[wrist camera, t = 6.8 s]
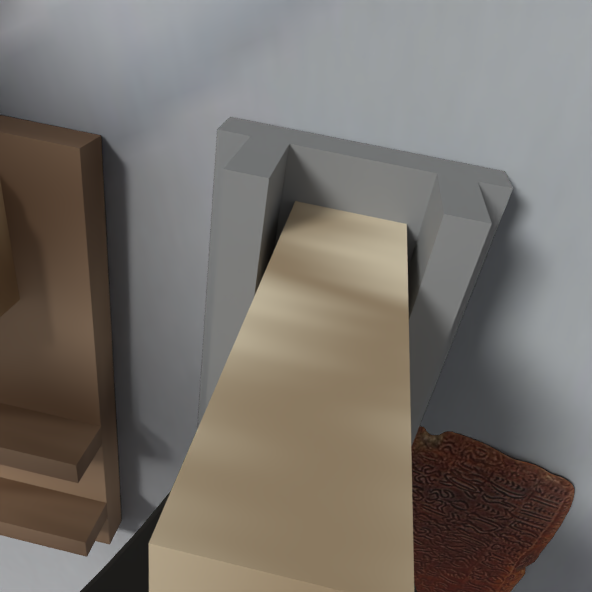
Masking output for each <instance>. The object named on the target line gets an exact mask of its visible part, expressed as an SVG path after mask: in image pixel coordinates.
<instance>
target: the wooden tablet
mask: <svg viewBox="0 0 592 592" xmlns="http://www.w3.org/2000/svg"><path fill="white" fill-rule="evenodd" d="M411 456H412V505H413V553H414V583H415V586H416V590H417V592H510V591H511V590H512V589H513V587H514V586H515V585H516V584H517V583H518V582H519V581H520V579H521V578H522V577H523V576H524V574H525V567H526V566H528V565H530V564H531V563H533V562H535V560H536V559H537V558H538V556H539V554H540V553H541V551H542V550H543V549H544V548H545V547H546V545H547V544H548V543H549V541H550V540H551V539H552V538H553V536H554V534H555V533H556V531H557V530H558V528H559V527H560V526H561V524H562V522H563V520H564V518H565V517H566V515H567V513H568V512H569V509H570V507H571V504H572V501H573V497H574V487H573V485H572V484H571V483H570V482H569V481H567V480H566V479H564V478H562V477H559V476H556V475H553V474H550V473H549V472H547V471H546V470H545V469H543V468H540V467H538V466H536V465H534V464H531V463H528V462H523V461H519V460H515V459H513V458H511V457H508V456H506V455H504V454H503V453H501V452H499V451H498V450H496V449H494V448H492V447H490V446H488V445H486V444H484V443H481V442H479V441H476V440H474V439H472V438H469V437H466V436H464V435H461V434H457V433H454V432H448V431H447V432H444V433H442V434H440V435H431V434H429V433H428V432H427V431H426V429H425V428H424V427H421V426H419V429H418V431H417V434H416V436H415V439H414V441H413V444H412V446H411Z"/></svg>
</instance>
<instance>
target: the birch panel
mask: <svg viewBox="0 0 592 592" xmlns="http://www.w3.org/2000/svg"><path fill="white" fill-rule="evenodd" d="M149 592H414V553H413V505H412V456H411V408H410V359H409V310H408V262H407V224H404V223H400V222H395V221H390V220H385V219H380V218H375V217H370V216H366V215H361V214H356V213H351V212H346V211H341V210H336V209H332V208H327V207H322V206H317V205H312V204H307V203H302V202H298V201H295V203H294V205H293V208H292V210H291V212H290V215H289V217H288V219H287V222H286V224H285V226H284V229H283V231H282V233H281V236H280V238H279V240H278V243H277V245H276V247H275V250H274V252H273V254H272V257H271V259H270V261H269V264H268V266H267V268H266V271H265V273H264V275H263V278H262V280H261V282H260V285H259V287H258V289H257V292H256V294H255V296H254V299H253V301H252V303H251V306H250V308H249V310H248V313H247V315H246V317H245V320H244V322H243V324H242V327H241V329H240V331H239V334H238V336H237V338H236V341H235V343H234V345H233V348H232V350H231V352H230V355H229V357H228V359H227V362H226V364H225V366H224V369H223V371H222V373H221V376H220V378H219V380H218V383H217V385H216V387H215V390H214V392H213V394H212V397H211V399H210V401H209V404H208V406H207V408H206V411H205V413H204V415H203V418H202V420H201V422H200V425H199V427H198V429H197V432H196V434H195V436H194V439H193V441H192V443H191V446H190V448H189V450H188V453H187V455H186V457H185V460H184V462H183V464H182V467H181V469H180V471H179V474H178V476H177V478H176V481H175V483H174V485H173V488H172V490H171V492H170V495H169V497H168V499H167V502H166V504H165V506H164V509H163V511H162V513H161V516H160V518H159V520H158V523H157V525H156V527H155V530H154V532H153V534H152V537H151V539H150V541H149Z"/></svg>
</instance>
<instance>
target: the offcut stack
mask: <svg viewBox="0 0 592 592" xmlns="http://www.w3.org/2000/svg"><path fill="white" fill-rule="evenodd" d="M19 300H20V297H19V291H18V285H17V279H16V273H15V267H14V261H13V255H12V248H11V242H10V236H9V230H8V224H7V218H6V212H5V206H4V200H3V194H2V188H1V182H0V317H1V316H2V315H3V314H5V313H6V312H7V311H8V310H9V309H10V308H11V307H12V306H13V305H15V304H16V303H17V302H18V301H19Z"/></svg>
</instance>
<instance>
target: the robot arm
mask: <svg viewBox="0 0 592 592" xmlns="http://www.w3.org/2000/svg"><path fill="white" fill-rule="evenodd" d="M170 492H171V491H170ZM169 495H170V493H169V494H168V495H167V496H166V498H165V499H164V500H163V501H162V502H161V504H160V505H159V506H158V507H157V508H156V510H155V511H154V512H153V513H152V514H151V516H150V517H149V518H148V519H147V521H146V522H145V523H144V524H143V525H142V526H141V528H140V529H139V530H138V531H137V532H136V533H135V534H134V535H133V536H132V538H131V539H130V540H129V541H128V542H127V543H126V544H125V545H124V546H123V547H122V548H121V550H120V551H119V552H118V553H117V554H116V555H115V556H114V557H113V558H112V559H111V560H110V562H109V563H108V564H107V565H106V566H105V567H104V568H103V569H102V570H101V571H100V572H99V573H98V574H97V575H96V576H95V577H94V578H93V579H92V580H91V581H90V582H89V583H88V584H87V585H86V586H85V587H84V588H83V589H82V590H81V591H80V592H149V541H150V539H151V537H152V534H153V532H154V530H155V527H156V525H157V523H158V520H159V518H160V516H161V513H162V511H163V509H164V506H165V504H166V502H167V499H168V497H169ZM414 592H417V590H416V586H415V583H414Z"/></svg>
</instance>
